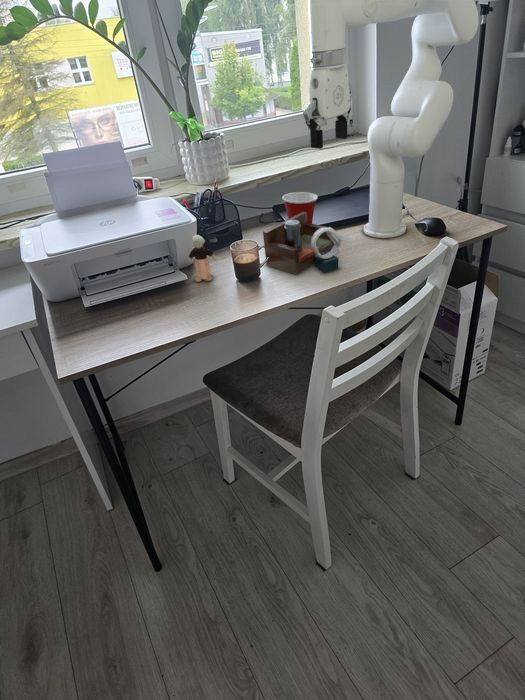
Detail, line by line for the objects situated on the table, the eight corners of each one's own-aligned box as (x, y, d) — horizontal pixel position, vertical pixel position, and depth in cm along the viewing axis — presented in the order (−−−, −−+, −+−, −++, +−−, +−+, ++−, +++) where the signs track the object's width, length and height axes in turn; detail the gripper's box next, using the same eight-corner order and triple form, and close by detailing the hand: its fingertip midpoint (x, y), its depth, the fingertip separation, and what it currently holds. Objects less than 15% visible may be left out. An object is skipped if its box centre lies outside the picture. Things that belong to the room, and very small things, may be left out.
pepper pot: (305, 249, 126) (304, 220, 122) (295, 255, 124) (293, 226, 119) (293, 245, 129) (291, 218, 124) (283, 251, 127) (280, 223, 122)
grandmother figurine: (192, 284, 125) (182, 240, 118) (191, 278, 128) (182, 234, 121) (220, 279, 126) (212, 235, 118) (218, 273, 129) (211, 230, 122)
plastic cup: (326, 234, 144) (325, 195, 137) (295, 243, 140) (293, 204, 133) (307, 224, 152) (306, 187, 145) (279, 232, 148) (275, 195, 141)
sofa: (304, 244, 139) (303, 211, 133) (334, 251, 132) (334, 217, 127) (266, 265, 130) (262, 231, 124) (296, 275, 123) (293, 239, 117)
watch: (344, 267, 124) (344, 227, 118) (318, 275, 122) (316, 235, 115) (334, 259, 128) (333, 221, 122) (308, 267, 126) (306, 228, 120)
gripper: (316, 65, 95) (319, 153, 105) (364, 54, 104) (362, 135, 114) (289, 66, 99) (294, 150, 109) (337, 55, 109) (338, 134, 118)
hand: (329, 142), depth 111 cm, fingers open, 9 cm apart
